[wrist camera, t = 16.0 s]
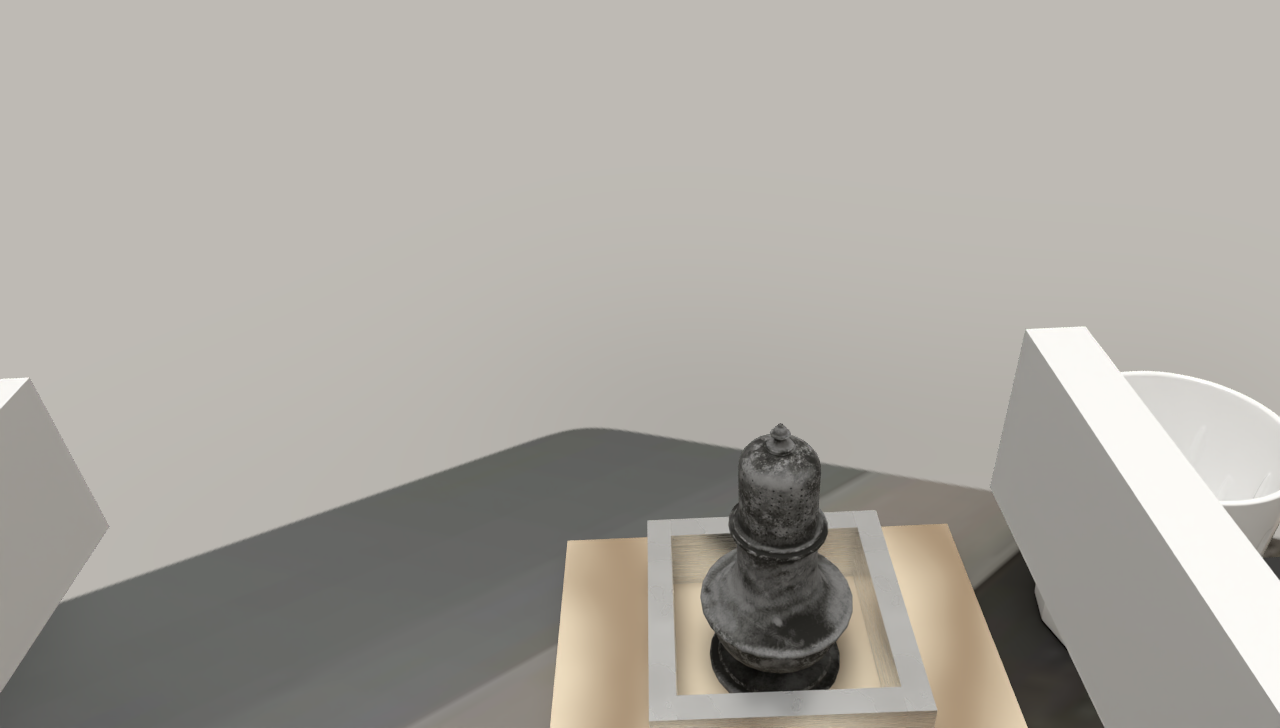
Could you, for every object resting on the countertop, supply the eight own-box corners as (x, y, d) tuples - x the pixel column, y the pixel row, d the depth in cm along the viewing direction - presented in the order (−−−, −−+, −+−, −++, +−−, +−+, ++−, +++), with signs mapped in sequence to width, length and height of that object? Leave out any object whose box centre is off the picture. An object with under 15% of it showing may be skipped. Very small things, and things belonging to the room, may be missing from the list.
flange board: (543, 839, 32) (540, 827, 32) (569, 552, 44) (567, 541, 44) (1056, 822, 32) (1060, 810, 31) (945, 536, 43) (947, 523, 43)
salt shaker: (743, 580, 41) (743, 358, 34) (869, 633, 38) (896, 402, 31) (676, 676, 37) (660, 446, 30) (810, 743, 34) (827, 505, 27)
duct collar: (653, 770, 34) (648, 721, 32) (651, 568, 42) (647, 520, 40) (928, 761, 33) (937, 710, 31) (870, 559, 41) (875, 510, 40)
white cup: (1141, 726, 35) (1217, 537, 29) (981, 593, 40) (1018, 414, 35) (1265, 635, 38) (1356, 448, 32) (1100, 523, 43) (1152, 348, 38)
